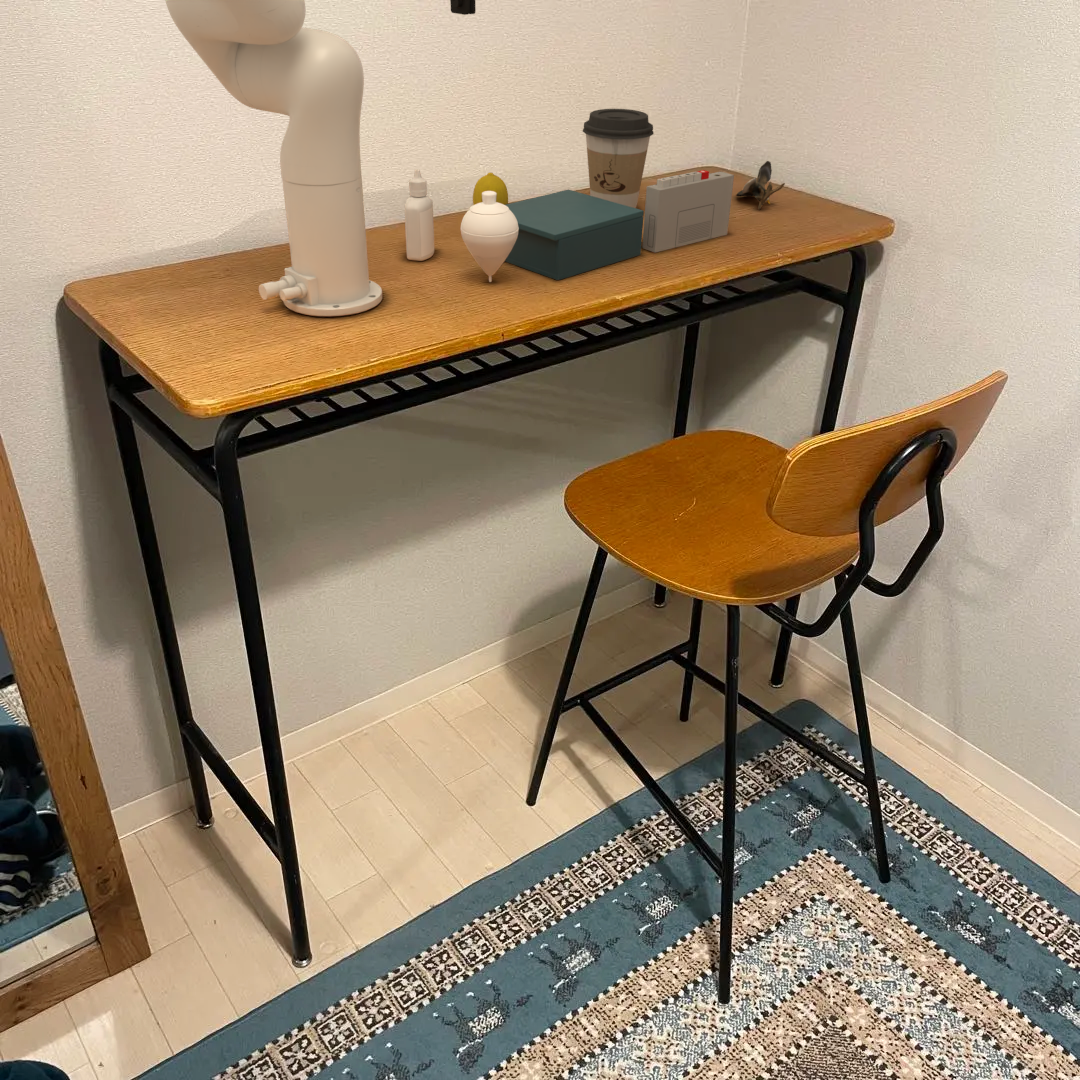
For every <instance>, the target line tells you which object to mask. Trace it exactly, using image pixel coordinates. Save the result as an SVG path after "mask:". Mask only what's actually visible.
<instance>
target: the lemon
mask: <svg viewBox="0 0 1080 1080" xmlns="http://www.w3.org/2000/svg"><path fill="white" fill-rule="evenodd" d="M484 191H494V192H496V202H498V203H501V204H503V205H506V204H509V193H508V188H507V185H506V183H505V182H504V180H503V179H502V178H500V177H499V176H498V175H496V174H494V173H493V172H488V173H487V174H484V175H483V176H481V177H479V179H478V180H477V181H476V183H475V185H474V188H473V192H472V206H473V205H475V204H477V203H481V202H483V201H482V192H484Z"/></svg>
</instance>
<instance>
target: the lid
mask: <svg viewBox="0 0 1080 1080" xmlns="http://www.w3.org/2000/svg"><path fill="white" fill-rule="evenodd" d="M505 206H507V207H508V208H509V210H510V211H511V212H512V213H513V214H514V216H515V217H516V219H517V222H518V227H519V229H521V230H524V231H527V232H530V233H533V234H536V235H539V236H542V237H545V238H548V239H551V240H559V239H563V238H566V237H570V236H573V235H577V234H580V233H584V232H588V231H591V230H595V229H598V228H602V227H606V226H609V225H613V224H616V223H620V222H623V221H627V220H631V219H634V218H638V217H641V216H643V217H644V216H645V210H643V209H640V208H637V207H635V208H633V207H629V206H626V205H622V204H618V203H615V202H611V201H608V200H604V199H601V198H597V197H593V196H590V194H586V193H582V192H579V191H575V190H571V189H564V190H561V191H556V192H552V193H547V194H544V195H539V196H536V197H535V196H534V197H532V198H527V199H523V200H519V201H515V202H511V203H508V204H506V205H505Z"/></svg>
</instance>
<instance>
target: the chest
mask: <svg viewBox="0 0 1080 1080" xmlns="http://www.w3.org/2000/svg"><path fill="white" fill-rule="evenodd" d="M643 230H644V215H643V216H641V217H638V218H634V219H631V220H627V221H623V222H620V223H616V224H613V225H609V226H606V227H602V228H598V229H595V230H591V231H588V232H584V233H580V234H577V235H573V236H570V237H566V238H563V239H559V240H551V239H548V238H545V237H542V236H539V235H536V234H533V233H530V232H527V231H524V230H521V229H519V230H518V237H517V240H516V242H515V244H514V246H513V248H512V250H511V252H510V253H509V255H508V256H507V258H506V259H505V261H504V262H505V263H508V264H510V265H514V266H517V267H519V268H522V269H525V270H527V271H530V272H532V273H533V272H534V273H537V274H539V275H542V276H545V277H548V278H550V279H553V280H556V281H560V280H561V281H562V280H564V279H567V278H570V277H574V276H577V275H580V274H583V273H586V272H589V271H593V270H596V269H600V268H603V267H606V266H609V265H613V264H616V263H619V262H622V261H625V260H628V259H632V258H635V257H638V256H641V255H642V244H643Z"/></svg>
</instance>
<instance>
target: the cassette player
mask: <svg viewBox="0 0 1080 1080" xmlns="http://www.w3.org/2000/svg"><path fill="white" fill-rule="evenodd" d="M734 179H735V174H731V173H728V172H726V171H716V172H712V173H711V172H710V171H709V170H706V169H701V170H696V171H691V172H687V173H682V174H681V173H680V174H676V175H671V176H666V177H661V178H657V179H656V184H652V185H646V190H645V203H644V204H645V205H644V216H643V230H642V244H641V249H644V250H646V251H649V252H651V253H659V252H663V251H667V250H671V249H674V248H679V247H683V246H688V245H691V244H694V243H699V242H703V241H708V240H712V239H715V238H719V237H723V236H727V235H728V231H729V224H730V223H729V222H730V214H731V206H732V197H733V188H734Z"/></svg>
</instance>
